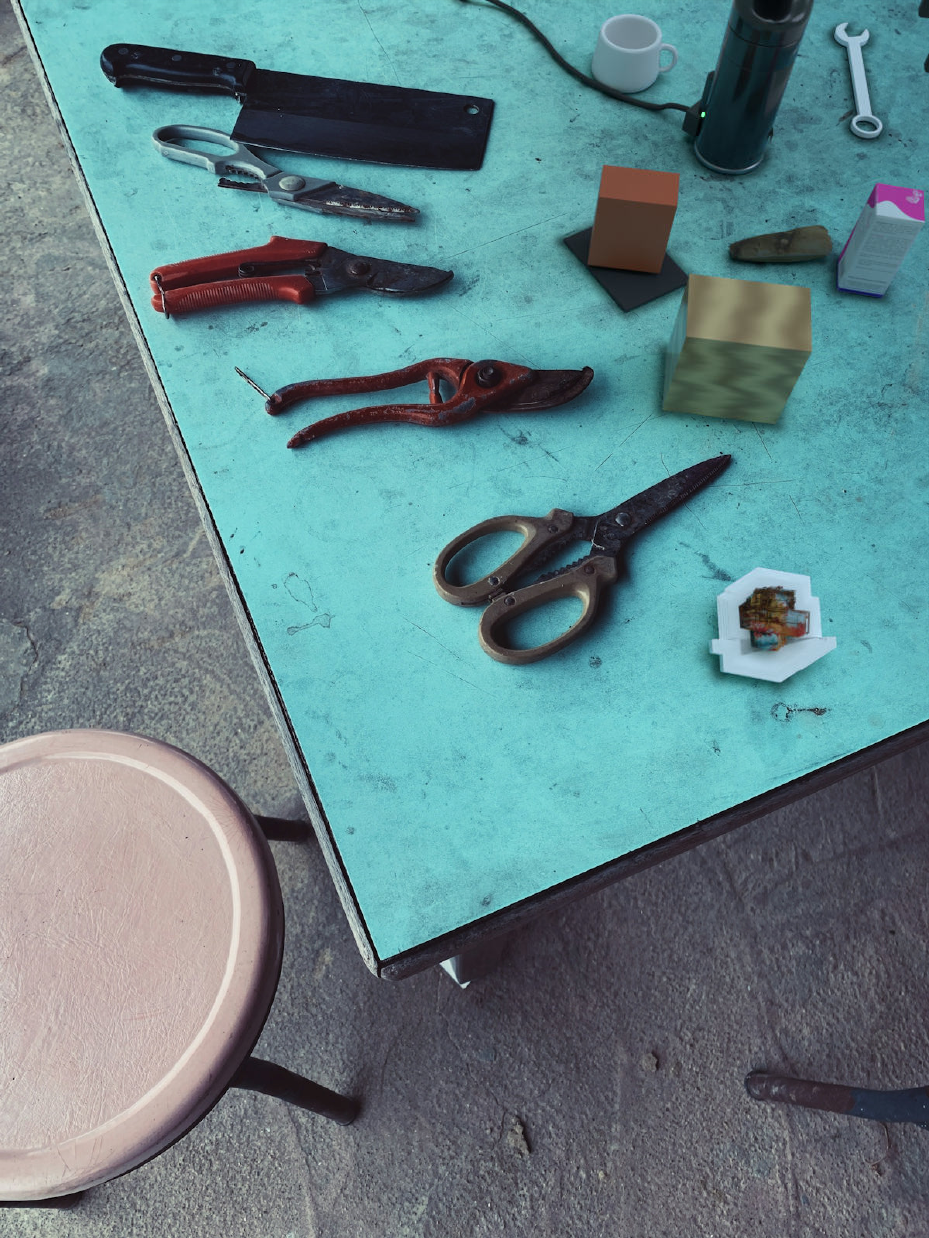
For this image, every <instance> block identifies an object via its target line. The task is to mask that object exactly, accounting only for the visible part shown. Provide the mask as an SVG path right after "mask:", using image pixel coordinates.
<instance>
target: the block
mask: <svg viewBox="0 0 929 1238" xmlns="http://www.w3.org/2000/svg"><path fill="white" fill-rule="evenodd" d="M679 191H680V173H679V172H670V171H661V170H653V169H643V168H636V167H626V166H617V165H609V164H603V165H602V168H601V174H600V181H599V187H598V192H597V200H596V203H595V204H596V206H595V210H594V216H593V223H592V226H593V228H592V234H591V242H590V249H589V257H588V265H594V266H603V267H611V268H619V269H627V270H636V271H644V272H652V273H660V271H661V267H662V263H663V259H664V255H665V252H666V253H667V247H668V243H669V241H670V240H669V239H670V235H671V232H672V228H673V225H674V220H675V217H676V213H677V210H678V205H679V204H678V203H679V202H678V201H679Z"/></svg>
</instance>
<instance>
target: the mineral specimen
mask: <svg viewBox="0 0 929 1238" xmlns="http://www.w3.org/2000/svg"><path fill="white" fill-rule="evenodd" d="M811 584H812V583H811V576H810V575H805V574H799V573H793V572H789V571H788V572H787V571H784V570H783V571H782V570H777V569H772V568H771V569H770V568H766V567H760V566H757V567H755V568H753V569H752V570H750V571H749V572H748V573H746V574H744V575H743V576H741V577H740V578H738V579H737V580H735V581H734V582H733V583H731V584H728V586H726V587H724V588H723V592H721V593H719V594H718V595H717V596H716V605H717V606H716V607H717V608H716V609H717V626H718V638H711V639H708V646H709V647H708V648H709V654H712V655H715V656H716V655H717V656H719V670H720V673H725V674H729V675H730V674H732V675H736V676H741V677H746V678H751V679H756V680H763V681H767V682H772V683H782V682H784V681H785V680H787V679H788V678H789V677H791V676H794V674H796V673H797V672H798V671H802V670H804V669H806V668H807V667H808V666H810V665H811V664H814V663H815V662H817V660H820V659H821V658H823V657H824V656H825V655H827V654H828V653H830V652H831V651H833V650H835V649H836V648H837V647H838V644H837V636H834V635H833V636H823V631H822V618H821V616H822V615H821V603H820V597H819V596H814V595H812V585H811Z"/></svg>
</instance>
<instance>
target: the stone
mask: <svg viewBox="0 0 929 1238" xmlns="http://www.w3.org/2000/svg"><path fill="white" fill-rule="evenodd" d="M833 244H834V243H833V241H832V236H831V235H830V234H829V229H827V227H825V226H824V225H821V224H815V225H814V224H813V225H807V226H799V227H795V228H792V229H789V230H785V231H778V232H772V233H771V232H770V233H763V234H759V235H755V236H750V237H747V238H742V239H740V240H737V241H735V242H733V243H730V244H729V245H728V248H729V254H731V255H730V256H731V258H733V259H734V260H737V261H744V262H752V263H753V262H754V263H755V262H756V263H793V262H796V263H797V262H803V261H811V260H816V259H821V258H824V257H828V256H829V255H830V254H831V253H832V251H833V246H834V245H833Z"/></svg>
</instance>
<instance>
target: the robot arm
mask: <svg viewBox="0 0 929 1238" xmlns="http://www.w3.org/2000/svg"><path fill="white" fill-rule="evenodd" d="M458 1H459V2H466V0H458ZM485 1H486V2H488V3H491V4H492V5H495V6H497V7H499V8H501V9H503V10H504V11H506V12H508V13H510V14H512V15H513V16H515V17H516V18H518V19H519V20H520V21H522V22H523V23H524V25H526V27H527V28H528V29H530V31H531V32H532V33H533V34H534V35H535V36H536V37H537V38H538V39H539V40H540V41H541V42H542V43H543V45H544V46H545V47H546V48H547V50H548V51H549V53H550V54H551V55H552V56H553V58H554V59H555V61H557V63H558V64H559V65H560V66H562V67H563V68H564V69H565V70H567V72H569V73H571V75H573V76H574V77H576V78H577V79H579V80H580V81H581V82H584V83H585V84H586V85H589V86H591V87H593V88H595V89H597V90H599V91H600V92H603V93H605V94H607V95H610V96H611V97H613V98H616V99H618V100H621V101H623V102H624V103H628V104H630V105H632V106H635V107H639V108H642V109H646V110H651V111H664V110H675V111H680V112H683V113H685V114H684V119H683V124H682V126H681V131H683V132H684V133H686V134H688V135H690V136H691V138H690V141H691V142H693V144H694V146H693V151H694V155H695V156H696V158H697V160H698V161H699V162H700V163H701V164H702V165H703V166H705V167H706V168H708V169H709V170H712V171H714V172H716V173H721V174H724V175H742V174H747V173H749V172H751V171H753V170H755V169H756V168H758V167H759V166H760V164H761V163H762V162H763V159H764V156H765V152H766V148H767V145H768V142H769V143H772V140H773V137H774V125H775V122H776V119H777V116H778V113H779V110H780V107H781V105H782V102H783V98H784V95H785V92H786V88H787V86H788V84H789V81H790V78H791V74H792V73H793V72H792V71H793V68H794V66H795V63H796V60H797V58H798V54H799V51H800V48H801V45H802V43H803V39H804V36H805V34H806V33H805V32H806V30H807V27H808V26H809V25H808V24H809V22H810V19H811V16H812V12H813V9H814V4H815V0H732V3H731V6H730V11H729V14H728V19H727V22H726V26H725V30H724V33H723V38H722V42H721V45H720V49H719V53H718V56H717V62H716V64H715V68H714V70H711V71H709V72H708V74H707V75H706V79H705V84H704V87H703V91H702V95H701V98H700V99H699V100H697V102H695V103H694V104H693V105H692V106H688V105H685V104H682V103H677V102H665V103H662V104H659V103H652V102H647V101H643V100H640V99H637V98H634V97H631V96H629V95H626V94H625V93H620V92H617V91H615V90H613V89H611V88H609V87H607V86H604V85H602V84H600V83H598V81H597V80H594V79H592V78H591V77H589V76H587V75H586V74H583V73H582V72H581V71H580V70H578V69H576V68H575V67H574V66H573V65H571V64H570V63H569V62H567V61H566V60H565V59H564V58H563V57H562V56H561V55H560V54H559V53H558V51H557V49H556V48H555V47H554V46H553V44H552V43H551V42H550V41H549V39H548V38H547V37H546V35H545V34H543V33H542V32H541V30H540V29H539V28H538V27H537V26H536V25H535V24H534V23H533V22H532V21H531V20H530V19H529V18H528V17H527V16H526V15H525V14H523V13H522V11H521V12H520V11H519V10H518V9H516V8H515V7H513V6H511V5H509V4H507V3H505V2H503V1H501V0H485ZM917 15H918V17H919V18H922V19H929V0H921V1H920V3H919V5H918V8H917ZM923 70H924V72H925V73H926V74H929V53H928V54H927V56H926V58H925V61H924V62H923Z"/></svg>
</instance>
